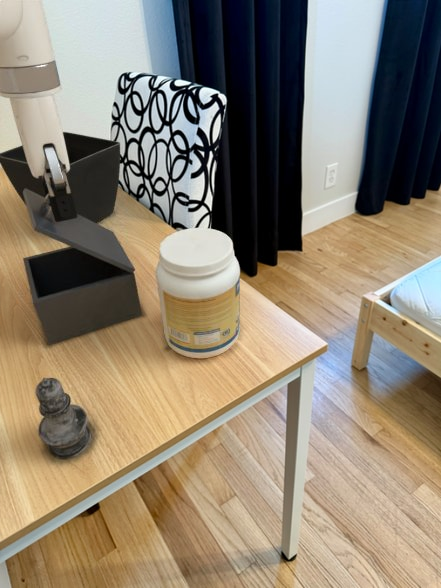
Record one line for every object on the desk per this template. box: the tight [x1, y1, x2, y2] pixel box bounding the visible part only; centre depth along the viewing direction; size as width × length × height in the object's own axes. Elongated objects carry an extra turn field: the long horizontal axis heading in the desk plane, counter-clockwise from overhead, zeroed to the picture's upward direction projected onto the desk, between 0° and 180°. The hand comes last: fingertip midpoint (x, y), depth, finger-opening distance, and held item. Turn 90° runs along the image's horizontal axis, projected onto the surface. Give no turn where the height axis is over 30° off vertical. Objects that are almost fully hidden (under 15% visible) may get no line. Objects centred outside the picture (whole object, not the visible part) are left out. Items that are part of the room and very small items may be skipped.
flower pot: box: [0, 131, 121, 224], centre depth 98 cm, size 19×19×17 cm
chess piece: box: [34, 377, 92, 460], centre depth 51 cm, size 6×6×12 cm
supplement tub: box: [155, 227, 241, 359], centre depth 65 cm, size 12×12×17 cm
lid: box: [23, 181, 136, 273], centre depth 67 cm, size 16×14×5 cm
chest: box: [22, 246, 143, 346], centre depth 73 cm, size 16×14×9 cm
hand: (62, 210), depth 65 cm, fingers closed on lid, 5 cm apart
